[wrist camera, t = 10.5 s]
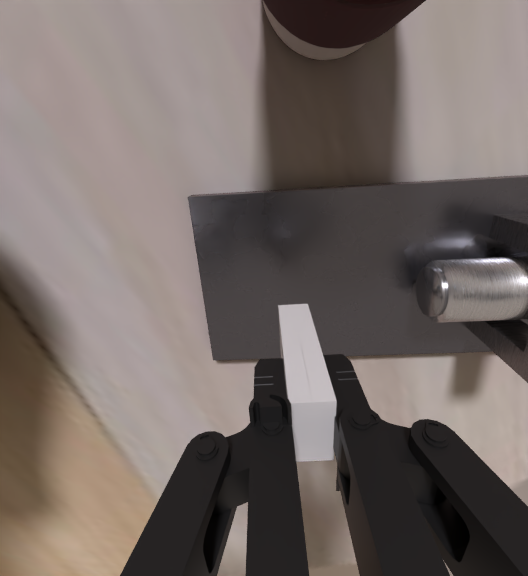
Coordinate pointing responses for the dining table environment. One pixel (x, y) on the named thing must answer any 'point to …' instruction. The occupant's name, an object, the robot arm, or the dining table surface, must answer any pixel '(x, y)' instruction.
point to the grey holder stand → (354, 264)
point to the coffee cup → (334, 23)
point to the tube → (474, 289)
